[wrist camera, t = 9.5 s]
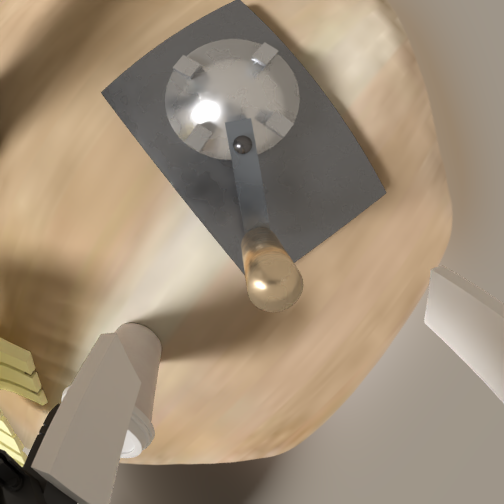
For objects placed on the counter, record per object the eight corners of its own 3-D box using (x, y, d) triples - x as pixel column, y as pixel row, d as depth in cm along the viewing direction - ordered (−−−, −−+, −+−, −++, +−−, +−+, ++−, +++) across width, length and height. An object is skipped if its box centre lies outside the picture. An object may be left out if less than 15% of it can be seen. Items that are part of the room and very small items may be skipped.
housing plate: (108, 96, 23) (100, 92, 21) (238, 7, 21) (238, -2, 19) (255, 281, 30) (256, 289, 28) (377, 190, 28) (387, 193, 26)
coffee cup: (142, 299, 30) (93, 390, 16) (188, 358, 33) (173, 456, 18) (91, 328, 31) (38, 407, 16) (134, 379, 33) (106, 464, 19)
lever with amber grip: (165, 64, 21) (123, 2, 9) (279, 46, 21) (314, -24, 9) (201, 258, 27) (182, 327, 15) (313, 237, 27) (369, 290, 15)
